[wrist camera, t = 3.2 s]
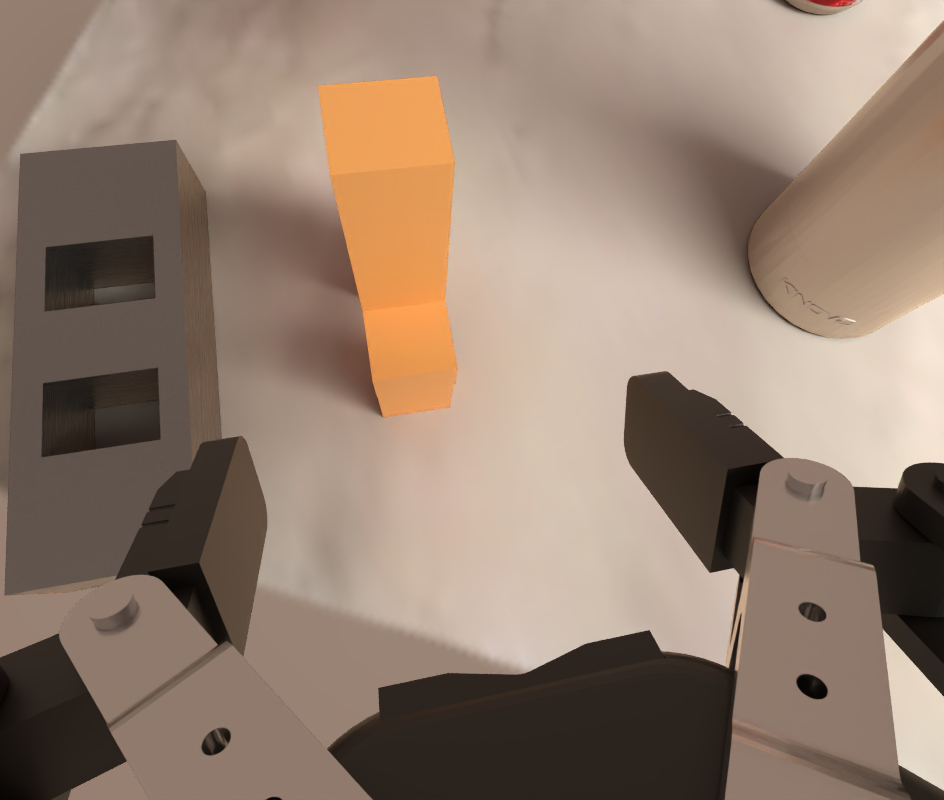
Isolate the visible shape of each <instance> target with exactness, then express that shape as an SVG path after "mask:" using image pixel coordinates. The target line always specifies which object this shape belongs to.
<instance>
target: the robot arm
mask: <svg viewBox="0 0 944 800" xmlns="http://www.w3.org/2000/svg"><path fill="white" fill-rule="evenodd" d="M748 259H749V264H750V270H751V273H752V275H753V278H754V280H755V283H756V285H757V287H758V288H759V290H760V291H761V293H762V295H763V296H764V298H765V299H766V300H767V301H768V303H769V304H770V305H771V306H772V307H773V308H774V309H775V310H776V311H777V312H778V313H779V314H780V315H782V316H783V317H784V318H786V319H787V320H788V321H790V322H791V323H792V324H794V325H796V326H798V327H800V328H802V329H804V330H806V331H808V332H811V333H814V334H818V335H821V336H824V337H832V338H841V339H843V338H853V337H859V336H862V335H865V334H868V333H871V332H873V331H875V330H877V329H879V328H881V327H883V326H884V325H886V324H888V323H890V322H892V321H894V320H895V319H897V318H899V317H901V316H903V315H905V314H907V313H908V312H910V311H912V310H914V309H916V308H918V307H919V306H921V305H923V304H925V303H927V302H929V301H931V300H933V299H935V298H937V297H939V296H940V295H942V294H944V21H943V22H942V23H941V24H940V25H939V26H938V27H937V28H936V29H935V30H934V31H933V32H932V33H931V34H930V36H929V37H928V38H927V39H926V40H925V41H924V42H923V43H922V44H921V45H920V46H919V47H918V48H917V49H916V50H915V52H914V53H913V54H912V55H911V56H910V57H909V58H908V59H907V60H906V61H905V62H904V63H903V64H902V65H901V67H900V68H899V69H898V70H897V71H896V72H895V73H894V74H893V75H892V76H891V77H890V78H889V79H888V80H887V81H886V83H885V84H884V85H883V86H882V87H881V88H880V89H879V90H878V91H877V92H876V93H875V94H874V95H873V96H872V98H871V99H870V100H869V101H868V102H867V103H866V104H865V105H864V106H863V107H862V108H861V109H860V110H859V111H858V112H857V114H856V115H855V116H854V117H853V118H852V119H851V120H850V121H849V122H848V123H847V124H846V125H845V126H844V127H843V129H842V130H841V131H840V132H839V133H838V134H837V135H836V136H835V137H834V138H833V139H832V140H831V141H830V142H829V143H828V145H827V146H826V147H825V148H824V149H823V150H822V151H821V152H820V153H819V154H818V155H817V156H816V157H815V158H814V160H813V161H812V162H811V163H810V164H809V165H808V166H807V167H806V168H805V169H804V170H803V171H802V172H801V173H800V174H799V175H798V176H797V177H796V178H795V179H794V180H793V181H792V183H791V184H790V185H789V186H788V187H787V188H786V189H785V190H784V191H783V192H782V193H781V194H780V195H779V196H778V198H777V199H776V200H775V201H774V202H773V203H772V204H771V205H770V206H769V207H768V208H767V209H766V210H765V211H764V213H763V214H762V215H761V216H760V217H759V219H758V220H757V222H756V223H755V225H754V226H753V229H752V232H751V235H750V238H749V245H748ZM624 447H625V452H626V456H627V459H628V461H629V463H630V465H631V467H632V468H633V470H634V471H635V472H636V474H637V475H638V476H639V478H640V479H641V480H642V482H643V483H644V484H645V486H646V487H647V488H648V490H649V491H650V493H651V494H652V495H653V497H654V498H655V499H656V501H657V502H658V503H659V505H660V506H661V507H662V509H663V510H664V511H665V513H666V514H667V516H668V517H669V518H670V520H671V521H672V522H673V524H674V525H675V526H676V528H677V529H678V530H679V532H680V533H681V534H682V536H683V537H684V539H685V540H686V541H687V543H688V544H689V545H690V547H691V548H692V549H693V551H694V552H695V553H696V555H697V556H698V557H699V559H700V560H701V562H702V563H703V564H704V566H705V567H706V568H707V570H708V571H709V572H710V573H712V572H717V571H721V570H726V569H731V568H734V569H735V570H736V571H737V572H738V574H739V578H738V583H737V588H736V595H735V602H734V609H733V615H732V622H731V629H730V636H729V643H728V650H727V657H726V664H725V666H723V665H720V664H718V663H715V662H712V661H709V660H706V659H703V658H700V657H695V656H691V655H687V654H681V653H674V652H663V651H661V650H660V648H659V647H658V645H657V643H656V641H655V639H654V638H653V636H652V634H651V632H650V630H648V631H644V632H639V633H634V634H629V635H625V636H620V637H615V638H611V639H606V640H601V641H597V642H592V643H587V644H584V645H582V646H580V647H578V648H576V649H574V650H572V651H570V652H568V653H566V654H564V655H562V656H560V657H558V658H556V659H554V660H552V661H550V662H548V663H546V664H544V665H542V666H540V667H538V668H536V669H534V670H532V671H530V672H527V673H524V674H519V675H504V674H459V673H447V674H442V675H437V676H433V677H428V678H423V679H419V680H414V681H410V682H405V683H400V684H395V685H390V686H386V687H381V688H378V689H379V710H380V712H378V713H376V714H374V715H372V716H370V717H368V718H366V719H365V720H363V721H362V722H360V723H358V724H357V725H355V726H354V727H352V728H351V729H349V730H348V731H347V732H346V733H344V734H343V735H342V736H341V737H339V738H338V739H337V740H336V741H335V742H334V743H333V744H332V745H331V746H330V747H328V748H327V749H326V748H325V747H324V746H323V745H322V743H321V742H320V741H319V740H318V739H317V738H316V737H315V736H314V735H313V733H312V732H311V731H310V730H309V729H308V728H307V727H306V726H305V725H304V724H303V722H302V721H301V720H300V719H299V718H298V717H297V716H296V715H295V714H294V712H293V711H292V710H291V709H290V708H289V707H288V706H287V705H286V704H285V703H284V701H282V699H281V698H280V697H279V696H278V695H277V694H276V693H275V691H274V690H273V689H272V688H271V687H270V686H269V685H268V684H267V683H266V682H265V680H263V678H262V677H261V676H260V675H259V674H258V673H257V672H256V671H255V669H254V668H253V667H252V666H251V665H250V664H249V663H248V662H247V661H246V660H245V658H244V657H243V655H244V650H245V645H246V639H247V633H248V628H249V623H250V617H251V612H252V607H253V601H254V595H255V591H256V585H257V580H258V574H259V569H260V564H261V558H262V553H263V547H264V542H265V537H266V531H267V510H266V504H265V499H264V496H263V493H262V490H261V486H260V483H259V480H258V477H257V474H256V470H255V467H254V464H253V461H252V458H251V454H250V451H249V448H248V445H247V443H246V441H245V439H244V438H243V437H242V436H239V437H233V438H226V439H220V440H213V441H207V442H202V443H201V444H200V446H199V449H198V451H197V453H196V456H195V458H194V461H193V463H192V465H191V468H190V469H189V470H183V471H177V472H176V473H175V474H174V475H172V476H171V477H170V478H169V479H168V480H167V481H166V482H165V483H164V484H163V485H162V486H161V487H160V488H159V489H158V490H157V492H156V494H155V496H154V498H153V500H152V503H151V505H150V507H149V512H147V513H146V515H145V517H144V519H143V522H142V524H141V525H142V528H139V530H138V532H137V534H136V536H135V539H134V541H133V543H132V545H131V547H130V549H129V551H128V553H127V555H126V558H125V560H124V562H123V564H122V566H121V568H120V570H119V572H118V574H117V577H116V579H115V580H114V581H111V582H109V583H106V584H105V585H103V586H101V587H99V588H97V589H95V590H94V591H92V592H91V593H89V594H88V595H86V596H85V597H84V598H82V599H81V600H80V601H79V602H78V603H77V604H76V605H75V606H74V607H73V608H72V609H71V610H70V611H69V612H68V614H67V615H66V617H65V618H64V620H63V622H62V624H61V627H60V631H59V634H56V635H54V636H52V637H50V638H47V639H45V640H42V641H40V642H37V643H35V644H33V645H30V646H28V647H25V648H23V649H20V650H18V651H15V652H13V653H10V654H8V655H6V656H3V657H1V658H0V800H68V797H69V794H70V791H71V789H73V788H75V787H77V786H79V785H81V784H83V783H85V782H87V781H89V780H91V779H93V778H95V777H97V776H98V775H101V774H103V773H104V772H106V771H109V770H111V769H113V768H114V767H116V766H118V765H120V764H122V763H124V762H126V761H127V762H128V764H129V765H130V767H131V769H132V771H133V772H134V774H135V776H136V778H137V779H138V781H139V783H140V785H141V786H142V788H143V790H144V792H145V793H146V795H147V797H148V798H149V800H944V791H943V790H941V789H940V788H938V787H936V786H934V785H933V784H931V783H929V782H928V781H926V780H924V779H922V778H921V777H919V776H917V775H915V774H914V773H912V772H910V771H908V770H907V769H905V768H903V767H902V766H900V765H898V758H897V749H896V741H895V732H894V723H893V715H892V706H891V697H890V689H889V680H888V672H887V663H886V654H885V646H884V637H883V630H884V631H885V632H886V633H887V634H888V635H889V636H890V637H891V638H892V640H893V641H894V642H895V643H896V644H897V645H898V646H899V647H900V648H901V650H902V651H903V652H904V653H905V654H906V655H907V656H908V657H909V658H910V660H911V661H912V662H913V663H914V664H915V665H916V666H917V667H918V668H919V670H920V671H921V672H922V673H923V674H924V675H925V676H926V677H927V678H928V680H929V681H930V682H931V683H932V684H933V685H934V686H935V687H936V688H937V690H938V691H939V692H940V693H941V694H942V695H943V696H944V464H943V463H919V464H914V465H912V466H909V467H908V468H906V469H905V471H904V472H903V475H902V478H901V480H900V483H899V486H898V489H895V488H870V487H853V486H852V484H851V483H850V481H849V480H848V479H847V478H846V477H845V476H844V475H842V474H841V473H839V472H838V471H836V470H835V469H833V468H831V467H829V466H826V465H824V464H821V463H818V462H815V461H811V460H806V459H799V458H783V457H782V456H781V455H780V454H779V453H778V452H776V451H775V450H774V449H773V448H772V447H771V446H769V445H768V444H767V443H766V442H765V441H764V440H762V439H761V438H760V437H759V436H758V435H757V434H755V433H754V432H753V431H752V430H751V429H750V428H749V427H747V426H744V425H743V422H742V421H740V420H739V419H738V418H737V417H736V416H735V415H731V412H730V411H729V410H728V409H726V408H725V407H724V406H723V405H722V404H721V403H719V402H718V401H717V400H716V399H714V398H712V397H709V396H707V395H705V394H702V393H700V392H698V391H696V390H688V389H687V388H686V387H684V386H683V385H682V384H681V383H680V382H679V381H678V380H677V379H676V378H674V377H673V376H672V375H671V374H670V373H669V372H666V371H663V372H657V373H651V374H644V375H638V376H632V377H631V378H630V379H629V381H628V385H627V397H626V412H625V428H624ZM882 628H883V629H882Z"/></svg>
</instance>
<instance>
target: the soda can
mask: <svg viewBox="0 0 944 800" xmlns="http://www.w3.org/2000/svg"><path fill="white" fill-rule="evenodd" d="M786 1H787V2H788V3H790V4H791V5H793V6H794V7H796V8H798V9H801V10H803V11H806V12H810V13H814V14H834V13H838V12H841V11H843V10H845V9H848V8H851V7H853V6H855V5H857V4H859V3H860V2H861V1H862V0H786Z"/></svg>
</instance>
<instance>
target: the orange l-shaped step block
mask: <svg viewBox="0 0 944 800" xmlns="http://www.w3.org/2000/svg"><path fill="white" fill-rule="evenodd" d="M318 90H319V97H320V105H321V112H322V120H323V127H324V135H325V142H326V150H327V157H328V165H329V172H330V178H331V182H332V186H333V190H334V194H335V199H336V203H337V207H338V211H339V215H340V219H341V223H342V228H343V232H344V236H345V240H346V244H347V248H348V253H349V257H350V261H351V265H352V269H353V273H354V278H355V282H356V286H357V290H358V294H359V298H360V303H361V307H362V311H363V317H364V324H365V331H366V339H367V346H368V353H369V360H370V367H371V374H372V381H373V385H374V388H375V392H376V395H377V396H378V400H379V404H380V408H381V411H382V415H383V417H388V416H395V415H401V414H408V413H414V412H421V411H427V410H434V409H440V408H447V407H450V404H451V397H452V390H453V384H455V381H456V375H457V363H456V358H455V352H454V347H453V341H452V336H451V330H450V325H449V320H448V314H447V309H446V303H445V295H446V280H447V266H448V252H449V238H450V223H451V209H452V195H453V181H454V166H455V161H454V157H453V152H452V147H451V142H450V137H449V132H448V127H447V122H446V117H445V112H444V107H443V103H442V98H441V93H440V88H439V83H438V78H437V76H429V77H417V78H405V79H393V80H381V81H369V82H357V83H345V84H333V85H321V86H318Z"/></svg>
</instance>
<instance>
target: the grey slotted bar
mask: <svg viewBox="0 0 944 800" xmlns="http://www.w3.org/2000/svg"><path fill="white" fill-rule="evenodd" d="M147 282H155V298H153V299H144V300H136V301H128V302H120V303H112V304H104V305H95V306H94V289H97V288H105V287H114V286H122V285H131V284H139V283H147ZM155 400H159V408H160V436H161V440H154V441H148V442H141V443H134V444H128V445H121V446H115V447H108V448H101V449H95V409H99V408H106V407H113V406H120V405H127V404H134V403H141V402H148V401H155ZM220 439H222V436H221V421H220V406H219V390H218V375H217V360H216V344H215V329H214V314H213V298H212V283H211V268H210V253H209V237H208V222H207V207H206V192H205V190H204V188H203V186H202V185H201V183H200V181H199V179H198V178H197V176H196V174H195V172H194V171H193V169H192V167H191V165H190V164H189V162H188V160H187V159H186V157H185V155H184V153H183V152H182V150H181V148H180V146H179V145H178V143H177V141H176V140H170V141H159V142H148V143H137V144H126V145H115V146H104V147H93V148H82V149H71V150H60V151H49V152H38V153H27V154H20V177H19V205H18V233H17V261H16V289H15V317H14V345H13V373H12V401H11V429H10V457H9V485H8V513H7V543H6V570H5V595H22V594H44V593H64V592H71V591H77V590H83V589H88V588H94V587H100V586H103V585H105V584H106V583H109V582H111V581H114V580H115V579H116V577H117V574H118V572H119V570H120V568H121V566H122V564H123V562H124V560H125V558H126V555H127V553H128V551H129V549H130V547H131V545H132V543H133V541H134V539H135V536H136V534H137V532H138V530H139V528H142V525H141V524H142V522H143V519H144V517H145V515H146V513H147V512H149V507H150V505H151V503H152V500H153V498H154V496H155V494H156V492H157V490H158V489H159V488H160V487H161V486H162V485H163V484H164V483H165V482H166V481H167V480H168V479H169V478H170V477H171V476H172V475H174V474H175V473H176V472H177V471H183V470H189V469H190V468H191V465H192V463H193V461H194V458H195V456H196V453H197V451H198V449H199V446H200V444H201V443H202V442H207V441H213V440H220Z"/></svg>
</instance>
